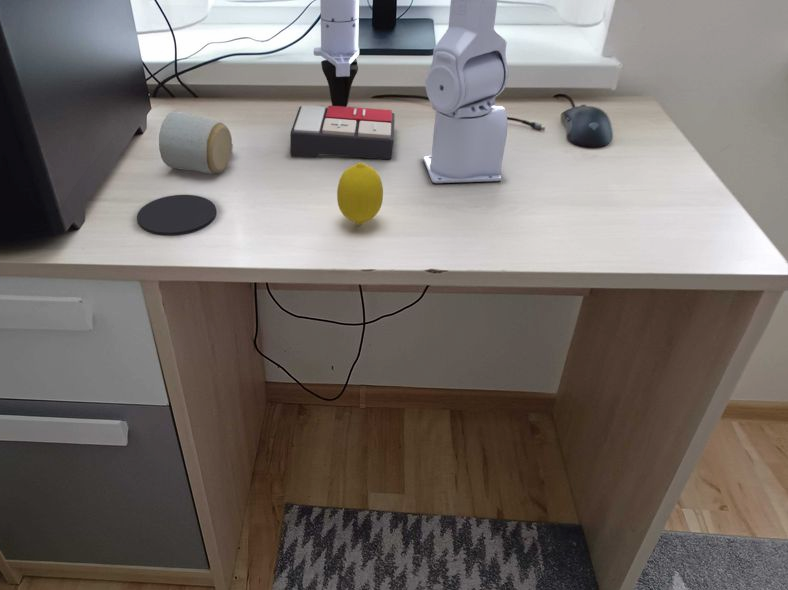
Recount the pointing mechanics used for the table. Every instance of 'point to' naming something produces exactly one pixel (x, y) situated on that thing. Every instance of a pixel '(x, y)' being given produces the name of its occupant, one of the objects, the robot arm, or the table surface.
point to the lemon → (360, 193)
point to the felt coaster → (176, 214)
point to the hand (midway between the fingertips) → (339, 108)
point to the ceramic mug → (194, 143)
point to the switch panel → (342, 132)
